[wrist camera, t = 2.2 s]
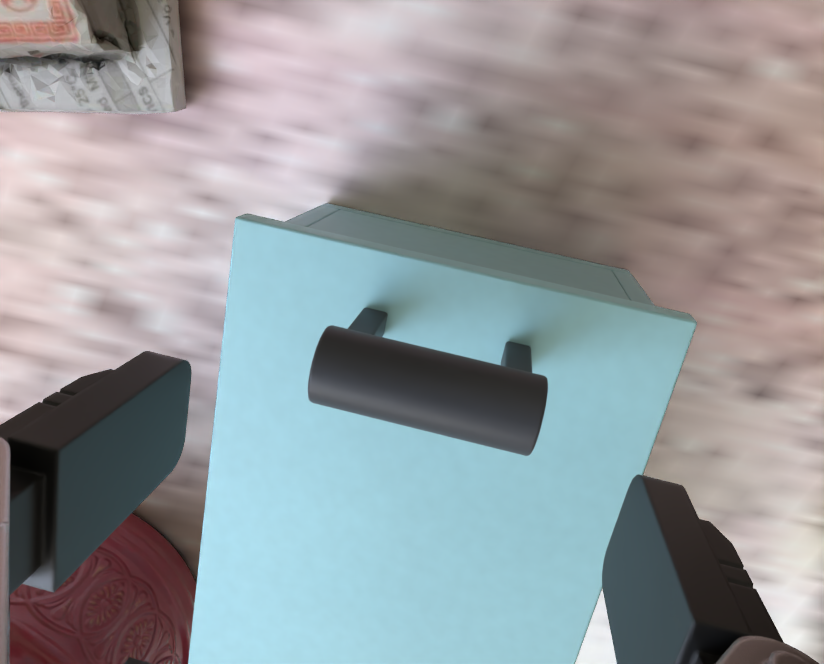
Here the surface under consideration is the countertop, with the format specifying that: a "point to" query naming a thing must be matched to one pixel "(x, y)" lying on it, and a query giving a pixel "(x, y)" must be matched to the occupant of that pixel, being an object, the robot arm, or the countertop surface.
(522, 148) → the countertop surface
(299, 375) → the freezer lid
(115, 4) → the packaged product
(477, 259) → the box
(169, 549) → the kitchen canister
